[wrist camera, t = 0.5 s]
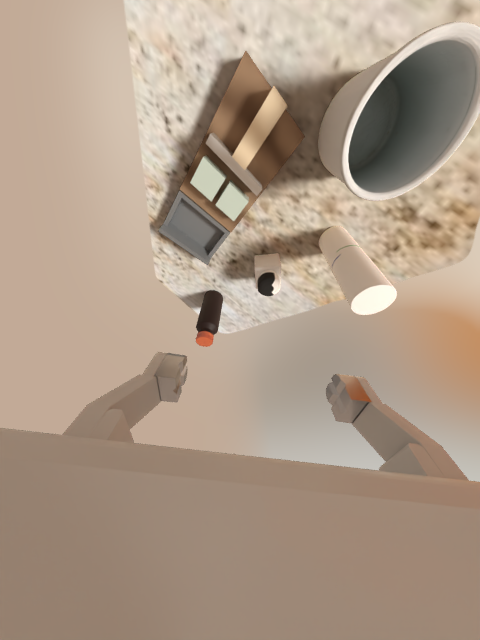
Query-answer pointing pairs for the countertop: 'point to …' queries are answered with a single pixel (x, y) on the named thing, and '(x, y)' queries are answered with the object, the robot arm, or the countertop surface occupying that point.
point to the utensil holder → (404, 113)
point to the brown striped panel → (231, 127)
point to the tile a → (208, 178)
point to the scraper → (250, 140)
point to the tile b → (232, 200)
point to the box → (193, 228)
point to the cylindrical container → (356, 272)
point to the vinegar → (209, 318)
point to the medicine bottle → (268, 273)
